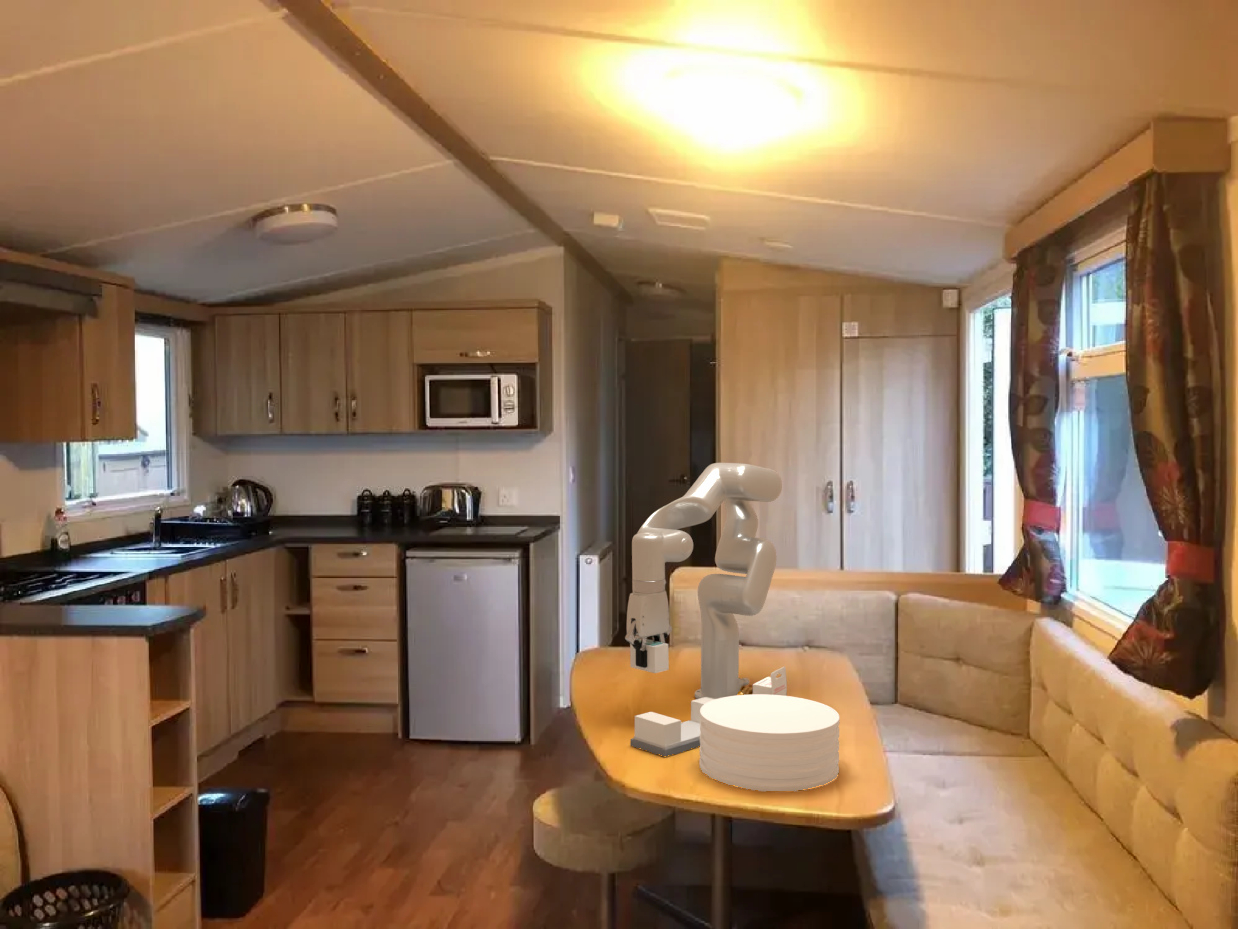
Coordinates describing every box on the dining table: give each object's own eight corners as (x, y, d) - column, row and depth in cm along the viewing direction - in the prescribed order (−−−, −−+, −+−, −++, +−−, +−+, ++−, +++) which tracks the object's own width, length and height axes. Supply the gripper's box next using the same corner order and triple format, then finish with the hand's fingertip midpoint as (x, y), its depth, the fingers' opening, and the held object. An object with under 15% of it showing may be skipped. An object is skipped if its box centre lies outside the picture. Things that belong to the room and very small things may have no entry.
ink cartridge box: (766, 726, 236) (767, 663, 236) (786, 729, 234) (787, 665, 233) (751, 735, 229) (752, 670, 228) (771, 739, 226) (772, 673, 226)
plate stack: (722, 740, 226) (722, 689, 226) (849, 756, 215) (850, 702, 215) (680, 780, 200) (681, 722, 200) (823, 801, 189) (824, 740, 189)
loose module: (644, 663, 241) (643, 637, 241) (668, 669, 236) (668, 643, 235) (630, 667, 238) (630, 640, 238) (654, 673, 232) (654, 646, 232)
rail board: (704, 724, 237) (704, 696, 237) (739, 734, 230) (739, 705, 230) (630, 746, 221) (630, 715, 221) (665, 757, 213) (665, 726, 213)
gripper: (662, 580, 244) (663, 655, 245) (610, 589, 233) (611, 668, 234) (685, 583, 239) (686, 661, 240) (633, 593, 227) (634, 674, 228)
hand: (649, 663), depth 237 cm, fingers closed on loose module, 4 cm apart
